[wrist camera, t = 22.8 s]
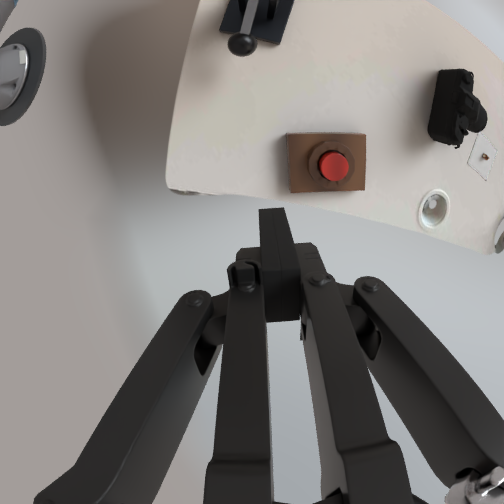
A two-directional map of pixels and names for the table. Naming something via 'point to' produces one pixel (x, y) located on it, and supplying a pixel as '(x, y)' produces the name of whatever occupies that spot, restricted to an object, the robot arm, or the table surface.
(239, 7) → the black lever stand
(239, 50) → the switch lever
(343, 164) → the button
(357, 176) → the brown button base
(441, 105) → the film camera
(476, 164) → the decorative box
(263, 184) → the table surface
